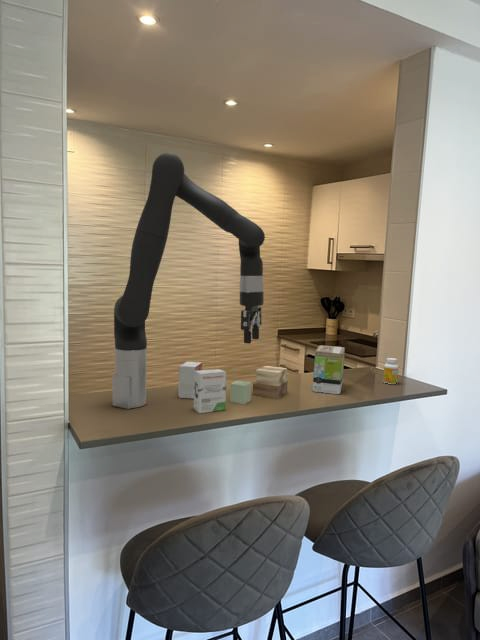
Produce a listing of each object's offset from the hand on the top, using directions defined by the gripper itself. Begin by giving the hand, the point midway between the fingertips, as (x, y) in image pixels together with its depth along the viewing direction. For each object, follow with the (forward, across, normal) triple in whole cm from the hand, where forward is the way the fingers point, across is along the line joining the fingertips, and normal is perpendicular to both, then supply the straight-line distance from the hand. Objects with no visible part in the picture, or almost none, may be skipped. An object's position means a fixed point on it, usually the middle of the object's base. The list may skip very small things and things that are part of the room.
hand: (251, 341), depth 144 cm
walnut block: (+20, -9, +4) cm, 22 cm away
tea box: (+21, -26, +21) cm, 40 cm away
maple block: (+15, -9, +4) cm, 18 cm away
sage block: (+19, +3, -3) cm, 20 cm away
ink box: (+19, +15, -8) cm, 26 cm away
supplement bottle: (+22, -45, +42) cm, 65 cm away
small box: (+19, +4, -20) cm, 28 cm away
